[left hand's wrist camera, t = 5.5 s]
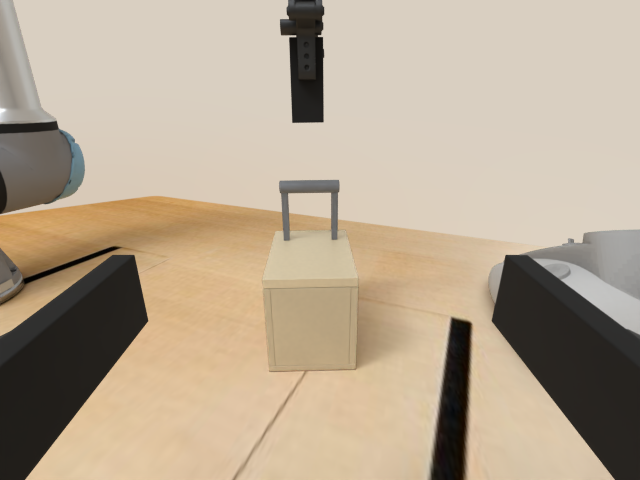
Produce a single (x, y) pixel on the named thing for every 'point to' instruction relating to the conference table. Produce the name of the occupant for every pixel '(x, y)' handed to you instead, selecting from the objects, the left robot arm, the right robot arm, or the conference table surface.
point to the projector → (595, 272)
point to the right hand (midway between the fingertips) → (308, 119)
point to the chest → (311, 328)
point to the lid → (310, 247)
